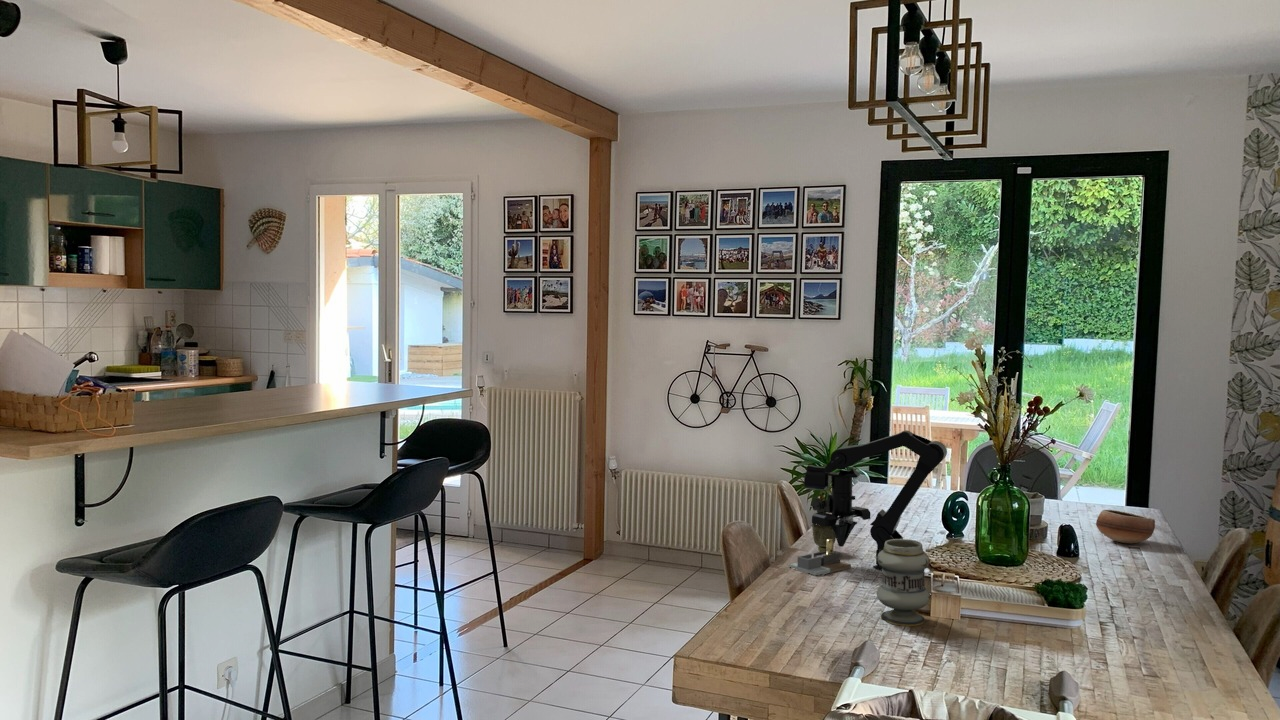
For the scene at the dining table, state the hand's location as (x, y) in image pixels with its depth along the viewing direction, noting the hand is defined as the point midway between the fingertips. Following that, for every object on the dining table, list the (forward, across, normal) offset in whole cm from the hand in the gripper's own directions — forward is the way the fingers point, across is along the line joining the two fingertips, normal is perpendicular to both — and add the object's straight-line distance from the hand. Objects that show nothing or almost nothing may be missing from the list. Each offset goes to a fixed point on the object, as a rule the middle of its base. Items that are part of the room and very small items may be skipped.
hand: (840, 546), depth 270 cm
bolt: (+3, +7, 0) cm, 7 cm away
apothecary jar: (+5, +26, +42) cm, 50 cm away
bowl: (+5, -92, +34) cm, 98 cm away
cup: (+5, -6, -12) cm, 14 cm away
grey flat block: (+5, +6, 0) cm, 7 cm away
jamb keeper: (+5, +13, 0) cm, 14 cm away
